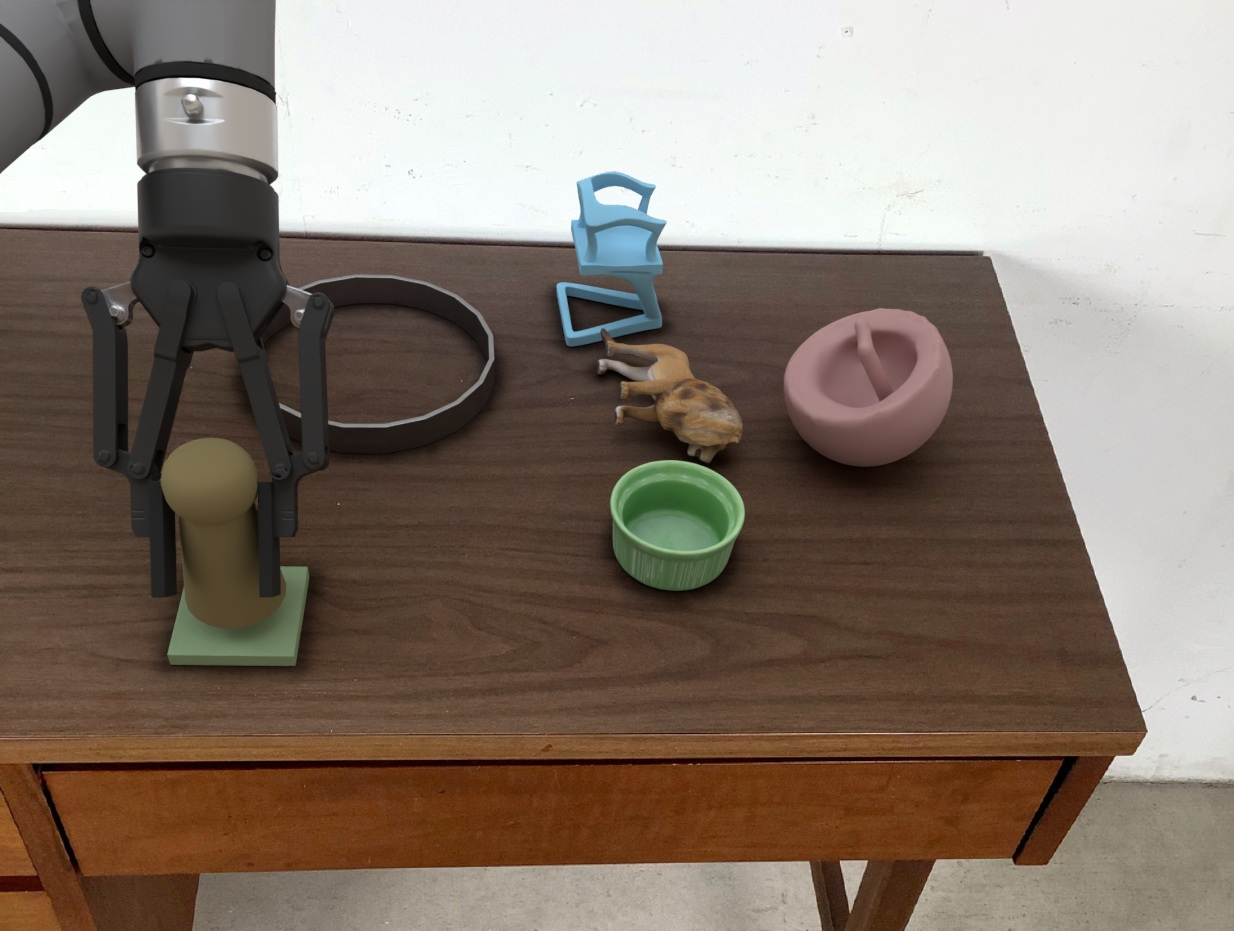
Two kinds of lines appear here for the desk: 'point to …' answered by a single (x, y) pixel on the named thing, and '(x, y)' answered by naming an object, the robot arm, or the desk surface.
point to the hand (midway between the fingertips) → (217, 595)
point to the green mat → (244, 633)
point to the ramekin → (674, 523)
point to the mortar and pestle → (869, 386)
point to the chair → (614, 257)
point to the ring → (412, 429)
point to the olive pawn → (218, 532)
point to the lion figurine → (674, 397)
